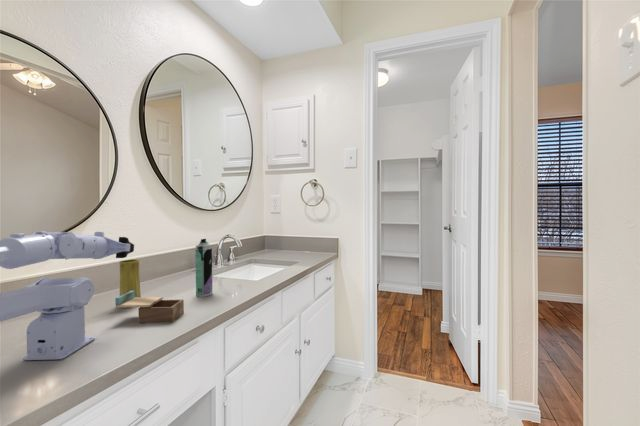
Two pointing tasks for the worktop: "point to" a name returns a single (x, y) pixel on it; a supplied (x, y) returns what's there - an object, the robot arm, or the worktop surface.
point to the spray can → (203, 269)
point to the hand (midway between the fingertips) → (119, 247)
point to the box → (161, 311)
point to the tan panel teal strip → (135, 300)
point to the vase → (129, 277)
